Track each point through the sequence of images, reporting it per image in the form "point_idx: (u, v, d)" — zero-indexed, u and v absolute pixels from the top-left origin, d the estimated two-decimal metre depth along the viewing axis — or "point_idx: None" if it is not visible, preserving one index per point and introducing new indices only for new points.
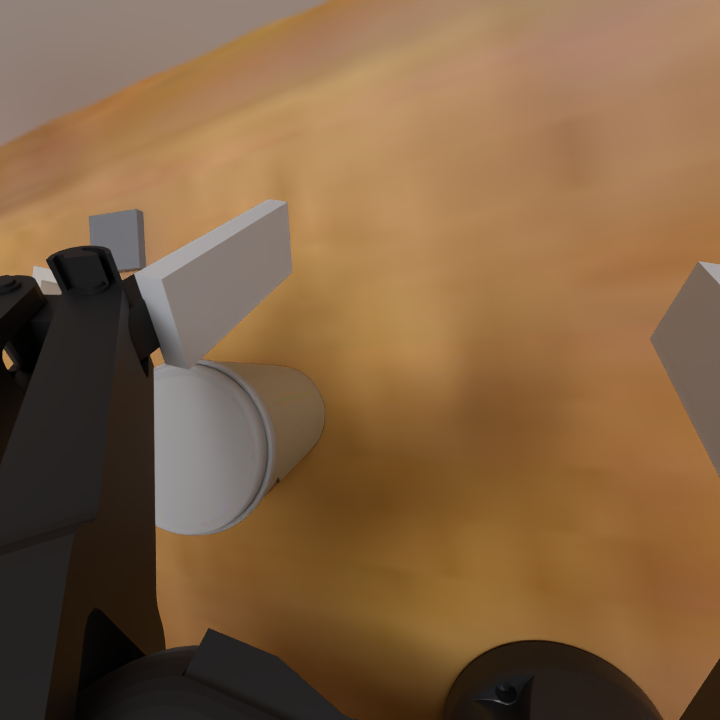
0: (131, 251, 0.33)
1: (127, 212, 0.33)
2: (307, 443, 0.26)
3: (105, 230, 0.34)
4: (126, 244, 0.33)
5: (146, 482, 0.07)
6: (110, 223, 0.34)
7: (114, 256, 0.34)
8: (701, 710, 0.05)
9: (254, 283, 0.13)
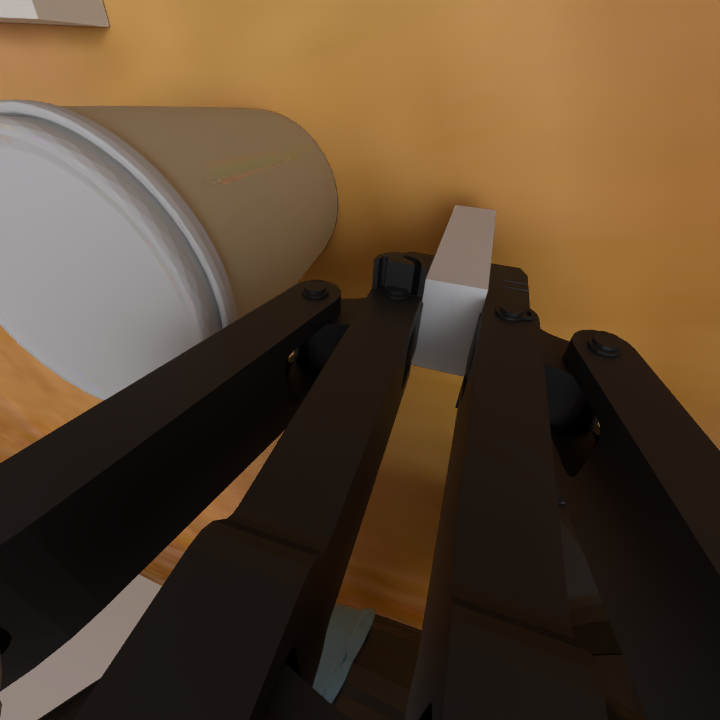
0: None
1: None
2: (309, 243, 0.16)
3: None
4: None
5: (365, 498, 0.07)
6: None
7: None
8: (436, 556, 0.06)
9: None
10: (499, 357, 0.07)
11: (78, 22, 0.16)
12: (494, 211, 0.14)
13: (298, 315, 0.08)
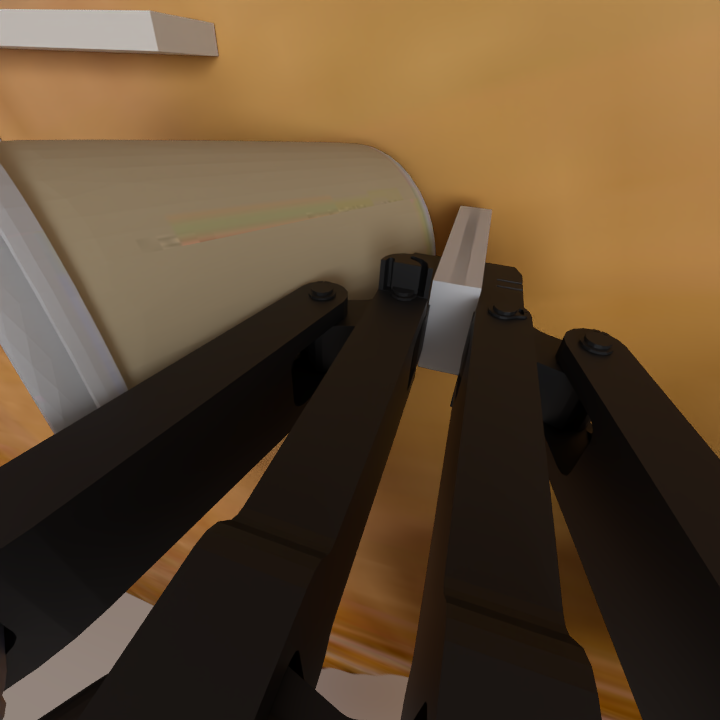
0: None
1: None
2: None
3: None
4: None
5: (370, 501, 0.07)
6: None
7: None
8: (431, 555, 0.06)
9: None
10: (492, 356, 0.07)
11: (192, 52, 0.14)
12: (490, 210, 0.14)
13: (305, 316, 0.08)
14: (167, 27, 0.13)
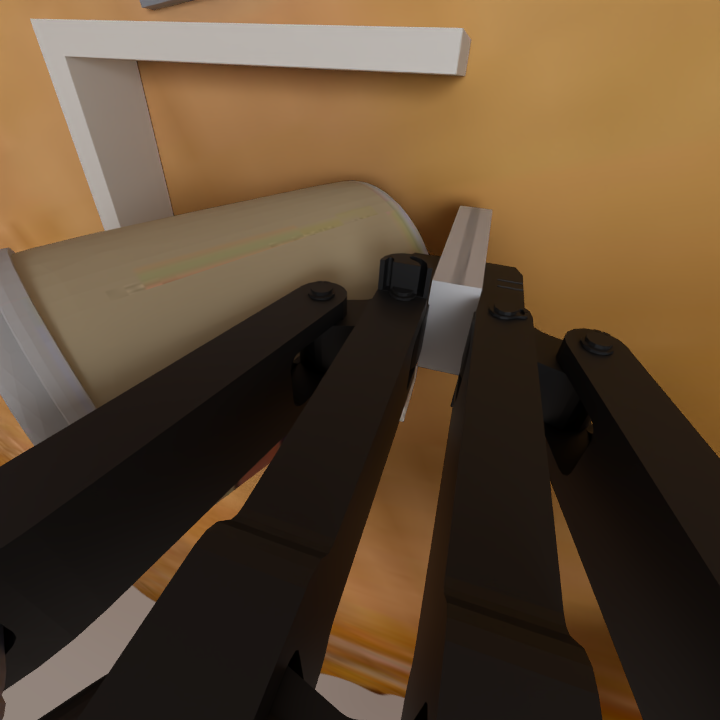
0: None
1: None
2: None
3: None
4: None
5: (370, 500, 0.07)
6: None
7: None
8: (432, 555, 0.06)
9: None
10: (493, 356, 0.07)
11: (461, 73, 0.12)
12: (490, 210, 0.14)
13: (304, 316, 0.08)
14: (462, 46, 0.11)
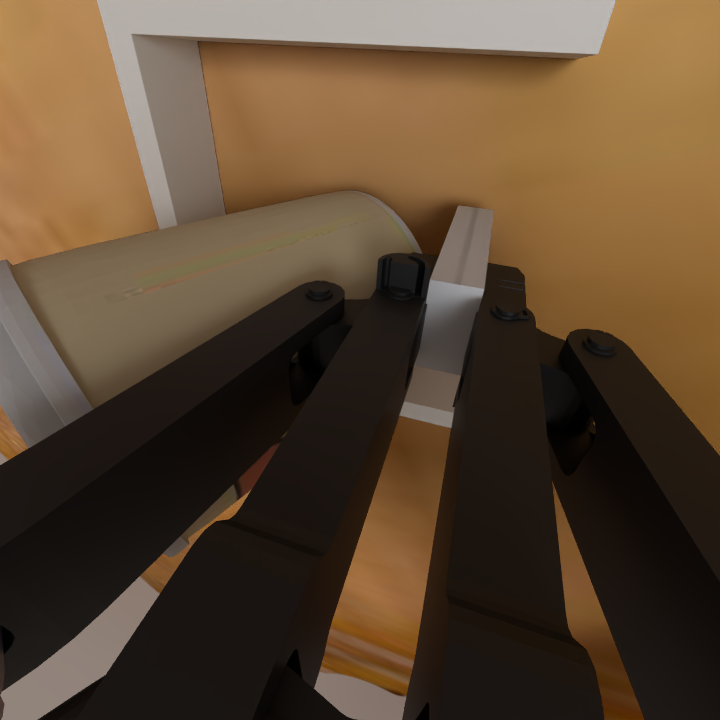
0: None
1: None
2: None
3: None
4: None
5: (367, 500, 0.07)
6: None
7: None
8: (433, 555, 0.06)
9: None
10: (495, 356, 0.07)
11: (586, 55, 0.11)
12: (492, 211, 0.14)
13: (302, 316, 0.08)
14: None
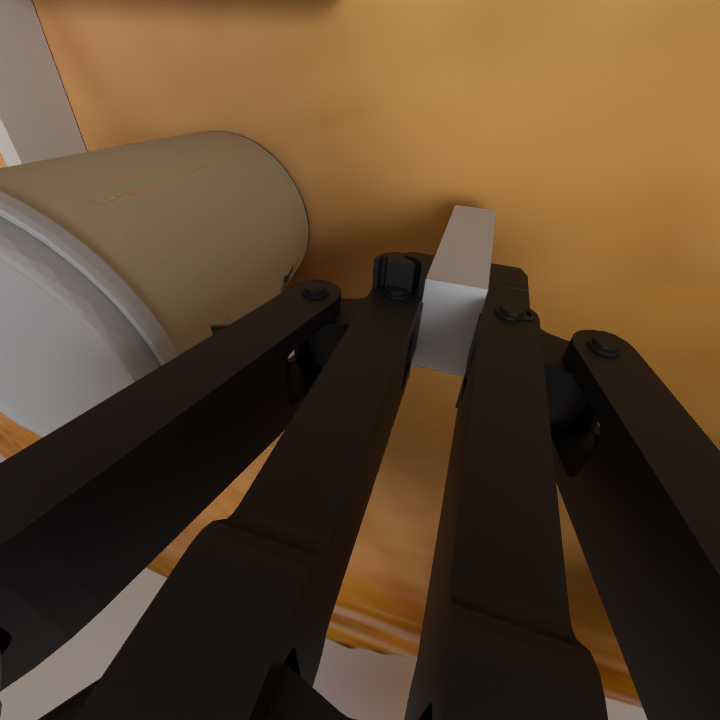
0: None
1: None
2: (266, 242, 0.15)
3: None
4: None
5: (365, 499, 0.07)
6: None
7: None
8: (436, 556, 0.06)
9: None
10: (499, 357, 0.07)
11: None
12: (494, 211, 0.14)
13: (298, 315, 0.08)
14: None
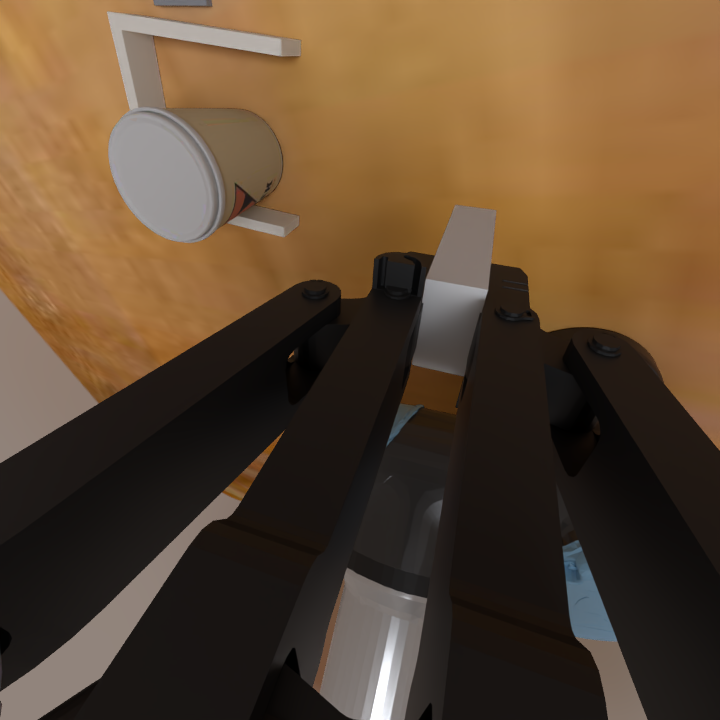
0: None
1: None
2: (260, 160, 0.33)
3: None
4: None
5: (366, 499, 0.07)
6: None
7: None
8: (436, 556, 0.06)
9: None
10: (499, 357, 0.07)
11: (291, 55, 0.30)
12: (494, 211, 0.14)
13: (298, 315, 0.08)
14: (285, 45, 0.29)
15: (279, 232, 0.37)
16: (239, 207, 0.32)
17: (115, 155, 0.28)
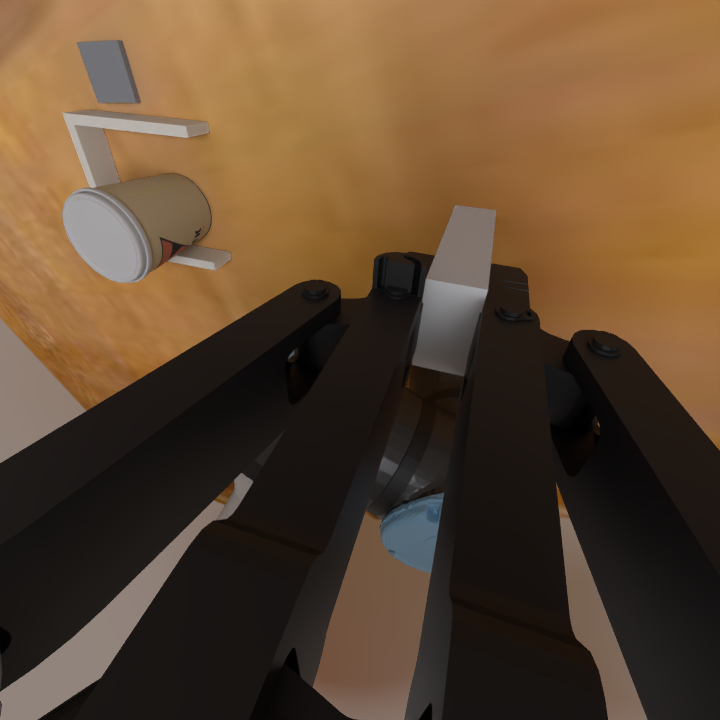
0: (125, 86, 0.39)
1: (110, 43, 0.37)
2: (185, 215, 0.42)
3: (96, 60, 0.39)
4: (118, 77, 0.39)
5: (366, 499, 0.07)
6: (98, 52, 0.38)
7: (112, 88, 0.40)
8: (436, 556, 0.06)
9: None
10: (499, 357, 0.07)
11: (199, 134, 0.39)
12: (494, 211, 0.14)
13: (298, 315, 0.08)
14: (191, 129, 0.38)
15: (211, 266, 0.46)
16: (168, 253, 0.41)
17: (68, 222, 0.38)
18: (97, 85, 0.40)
